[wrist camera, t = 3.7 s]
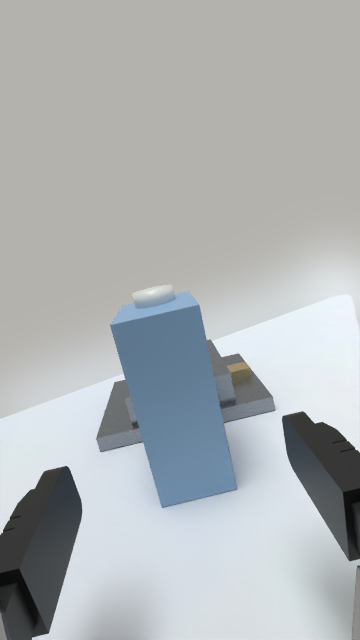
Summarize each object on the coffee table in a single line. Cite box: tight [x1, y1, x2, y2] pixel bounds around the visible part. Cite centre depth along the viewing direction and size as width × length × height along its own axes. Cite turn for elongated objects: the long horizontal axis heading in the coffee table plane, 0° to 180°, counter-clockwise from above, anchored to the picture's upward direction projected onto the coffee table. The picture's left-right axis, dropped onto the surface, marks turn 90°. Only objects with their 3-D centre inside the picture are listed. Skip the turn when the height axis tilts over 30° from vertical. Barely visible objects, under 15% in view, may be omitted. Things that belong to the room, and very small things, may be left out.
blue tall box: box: [110, 284, 237, 508], centre depth 18 cm, size 4×5×12 cm
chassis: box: [96, 340, 275, 452], centre depth 28 cm, size 14×10×4 cm
